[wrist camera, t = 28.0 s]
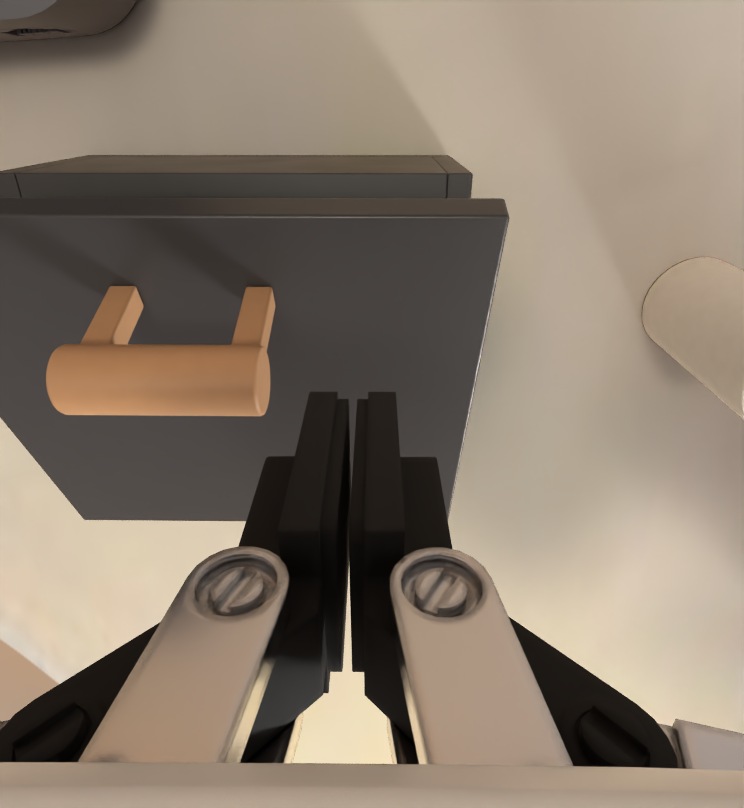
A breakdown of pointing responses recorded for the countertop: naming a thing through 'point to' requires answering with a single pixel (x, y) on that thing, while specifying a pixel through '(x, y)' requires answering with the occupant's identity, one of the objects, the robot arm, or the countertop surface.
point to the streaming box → (59, 17)
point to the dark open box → (241, 177)
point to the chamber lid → (233, 336)
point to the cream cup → (702, 323)
